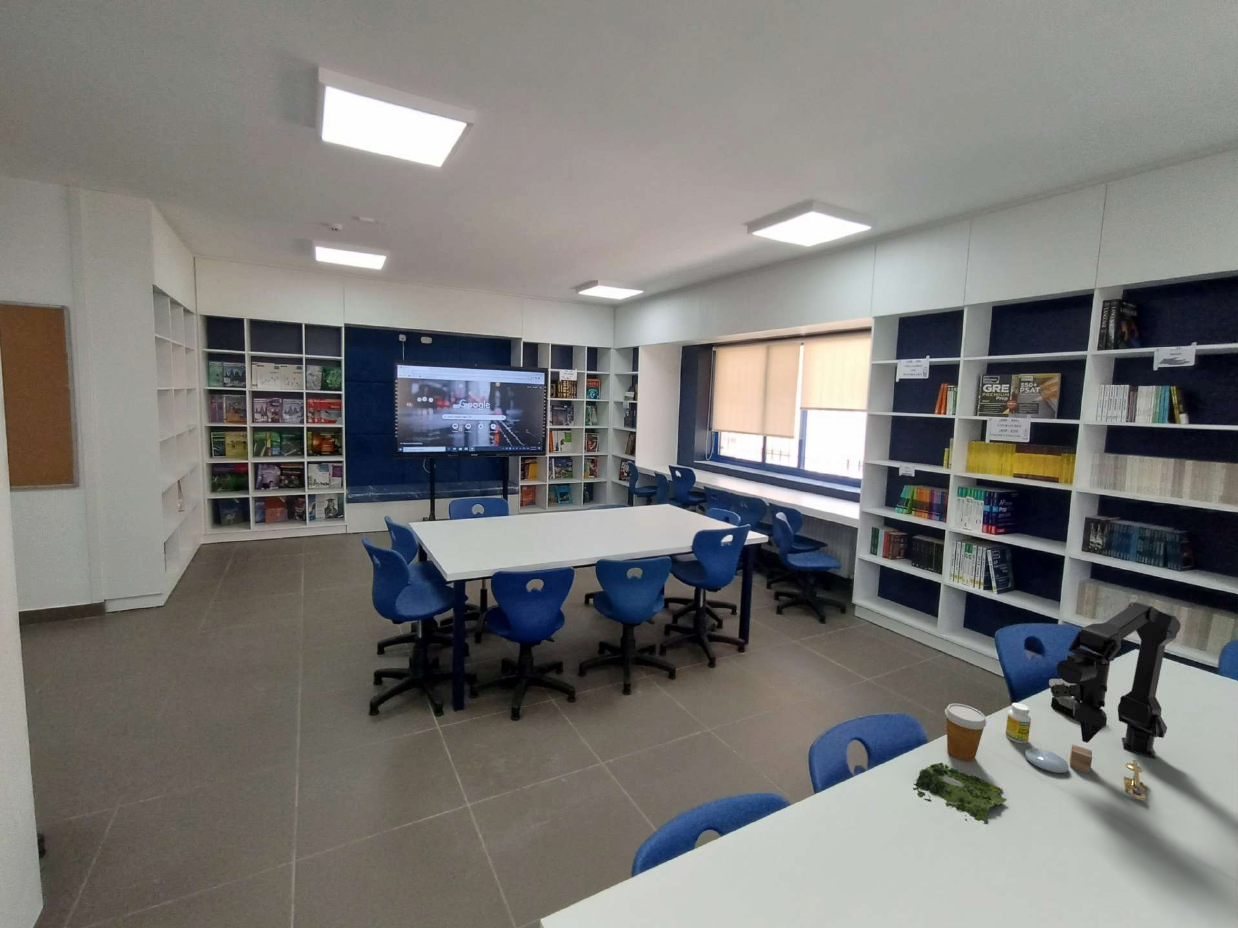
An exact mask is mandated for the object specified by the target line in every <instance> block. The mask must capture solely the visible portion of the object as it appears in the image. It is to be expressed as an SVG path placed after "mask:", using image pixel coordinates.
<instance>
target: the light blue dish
mask: <svg viewBox="0 0 1238 928" xmlns="http://www.w3.org/2000/svg"><path fill="white" fill-rule="evenodd" d="M1024 755H1025V756H1024V757H1025V758H1026V759H1027V761H1029V762H1030V763H1031V764H1032V765H1034V766H1035V767H1037V768H1040V769H1042V770H1045V771H1048V772H1051V773H1055V774H1063V773H1067V772H1068V770H1069V764H1068V762H1067V761H1066V759H1064V758H1063V757H1061V756H1060V755H1058V754H1056V753H1053V752H1051V751H1049V750H1046V749H1042V748H1039V747H1038V748H1037V747H1031V748H1030V747H1029V748H1027V749H1025V754H1024Z"/></svg>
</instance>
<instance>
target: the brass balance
mask: <svg viewBox="0 0 1238 928" xmlns="http://www.w3.org/2000/svg"><path fill="white" fill-rule="evenodd" d="M1125 767H1126V769H1128V770H1130V771H1132V772H1133V775H1132V778H1131V777H1126V776H1123V784H1124V792H1127V793H1128V794H1129V795H1131V796H1132V797H1134V798H1137V799H1140V800H1146V799H1147V796H1146V790H1145V785H1144V782H1142V781H1140V774H1139V773H1143V772H1144V771H1143V768H1142V767H1140V766H1139V765H1138V760H1136V759H1132V763H1129V762H1127V763H1125Z"/></svg>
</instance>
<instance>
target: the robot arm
mask: <svg viewBox="0 0 1238 928" xmlns="http://www.w3.org/2000/svg"><path fill="white" fill-rule="evenodd" d="M1181 625H1182V624H1181V622H1180V621H1179V619H1177V616H1176V615H1172V614H1169V613H1166V612H1163V611H1160V610H1159V609H1157V608H1155V607H1154V606H1151V605H1149V604H1145V603H1142V602H1138V601H1135V602H1134V601H1131V602H1130V603H1128V606H1127V607H1126V608H1125V609H1123V610H1122V611H1120V612H1119V613H1117V614H1115V615H1114V616H1113V617H1111V618H1109V619H1108V620H1106V621H1105V622H1101V623H1091V624H1089V625H1086V626H1084V627H1083V628H1081V629H1079V631H1078V632H1077V634H1076V636H1075V638H1074V639H1073V641H1072V642H1071V644H1070V646H1069V648H1068V649H1067V650H1068V652H1070V653H1073V654H1068V655H1067V656H1066V659H1062V660H1060V661H1059V662H1058V663H1057V664H1056V672H1057V674H1058V676H1059V677H1060V678H1051V679H1049V680H1048V684H1049V685H1048V686H1049V689H1050V693H1051V696H1052V697H1072V696H1073V698H1074V700H1076V701H1077V704H1075V705H1074V712H1073V714H1074V718H1075V719H1076V720H1075V719H1074V720H1075V721H1077V720H1078V721H1077V722H1079V724H1080V733H1081V741H1082V742H1083V743H1087V744H1088V743H1090V741H1091V740H1092V739H1093V738H1094V737H1095V736H1096V735H1097V734H1098V733H1099V731H1101V730H1102V729H1103V728H1105V727H1106V726H1107V721H1108V717H1107V713H1106V712H1105V711H1104V710H1103V709H1102V708H1105V707H1106V701H1105V700H1106V693H1107V692H1108V679H1109V672H1110V666H1111V662H1113V661H1115V656H1116V655H1117V653H1118V652H1119V651H1120V649H1121V646H1122V644H1121V642H1122V641H1123V639H1125V638H1127V637H1128V636H1130V635H1132V634H1133V633H1134V632H1136V633H1137V635H1138V637H1139V639H1140V645H1139V649H1138V655H1137V660H1136V665H1135V670H1134V677H1133V681H1132V685H1131V686H1132V687H1131V690H1130V691H1129V692H1128V693H1126V694H1125V695H1121V696H1120V699H1119V700H1120V701H1119V703H1118V705H1117V714H1118V715H1117V716H1118V721H1119V722H1120V723H1123V724H1126V726H1127V727H1126V730H1125V731H1126V733H1125V737H1124V736H1123V737H1121V742H1122V748H1123V749H1125V750H1127V751H1130V752H1133V753H1137V754H1140V755H1143V756H1146V757H1149V758H1153V759H1156V753H1155V750H1154V743H1155V738H1161V739H1164V738H1165V735H1166V733H1167V729H1168V727H1167V725H1166V723H1165V721H1164V719H1163V718H1162V707H1161V705H1160V703H1159V701H1158V699H1157V696H1156V695H1157V691H1158V684H1159V680H1160V675H1161V669H1162V664H1163V661H1164V654H1165V648H1166V646H1167V645H1168V644H1170V643H1171V642H1172V641H1174V640H1176V637H1177V634H1178V633H1179V632H1180V630H1181ZM1081 647H1082V648H1081Z"/></svg>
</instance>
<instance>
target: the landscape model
mask: <svg viewBox="0 0 1238 928" xmlns="http://www.w3.org/2000/svg"><path fill="white" fill-rule="evenodd" d="M918 775H919V776H918V777H917V779H915V780H916V782H915V783H913V786H915V787H912V791H916V790H917V794H916V795H917V796H918V797H919V798H923V800H924V801H927V802H929V803H931V802H932V800H931V796H930V795H929V794H928V795H927V796H928V797H929V798H924V796H926V793H925V792H929V793H930V794H933V795H936V796H938V797H940V798H941V799H943V800H944V801H946V802H944V803H945V806H946V807H948V808H950V807H951V809H953V808H955V809H956V810H958V812H959V813H962V812H965V813H967V815H969V816H970V817H972V818H973V819H974V820H976V821H978V822H980V821H983V824H986V823H988V820H989V816H988V812H989V811H990V809H991V807H994V806H995V805H996V804H997V805H998V806H999V805H1000V804H1003V803H1005V802H1006V801H1007V798H1005V797H1002V796H1001V795H999V793H1001V791H1003V790H1004V789H1003V788H1001V787H998V786H996V785H995V784H992V783H991V782H989V781H987V780H985V779H983V778H981V777H979V776H976V775H973V774H970V775H969V774H967V773H965V772H961V771H958V769H955V768H953V767H950V768H949V765H947V764H944V762H939V763H938V762H937V763H933V764H930V766H927V767H925V768H923V769H921V770H920V771H919V774H918ZM920 789H923V790H924V791H925V792H924V791H922V790H920ZM967 815H965V814H964V817H967ZM964 820H965V821H966V822H968V820H967V818H965V819H964ZM970 820H971V821H972V819H971V818H970Z"/></svg>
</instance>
